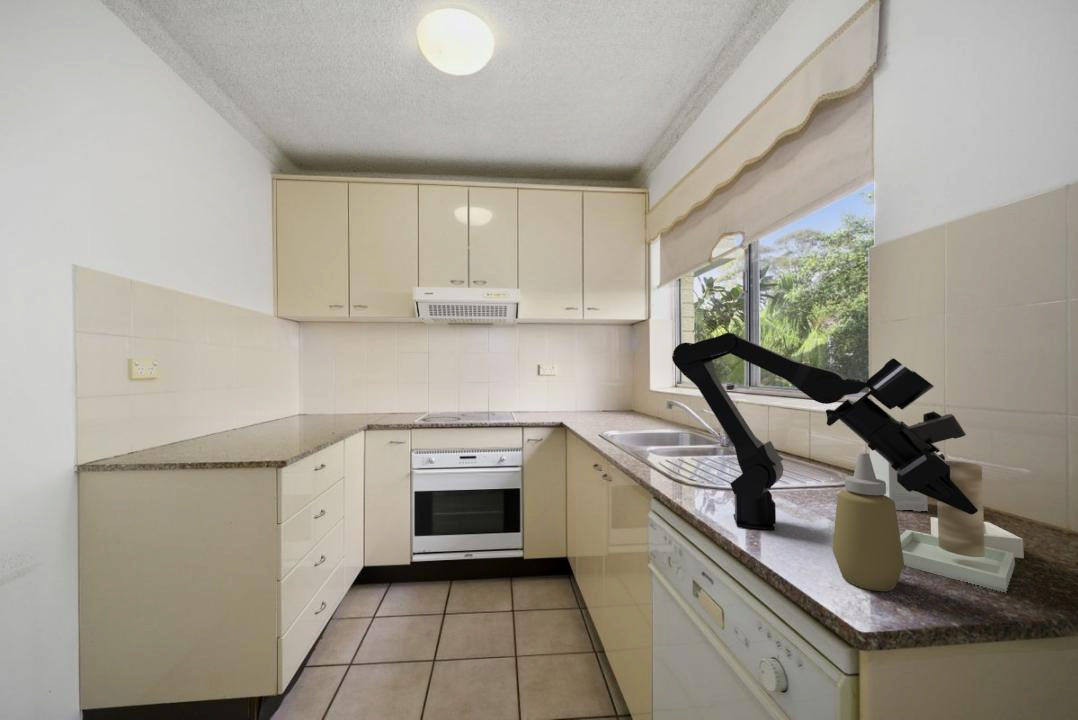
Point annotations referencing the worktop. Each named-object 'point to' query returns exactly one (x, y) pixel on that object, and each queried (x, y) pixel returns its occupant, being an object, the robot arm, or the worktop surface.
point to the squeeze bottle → (867, 531)
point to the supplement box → (896, 486)
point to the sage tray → (957, 562)
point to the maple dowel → (963, 514)
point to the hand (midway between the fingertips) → (972, 508)
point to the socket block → (994, 538)
